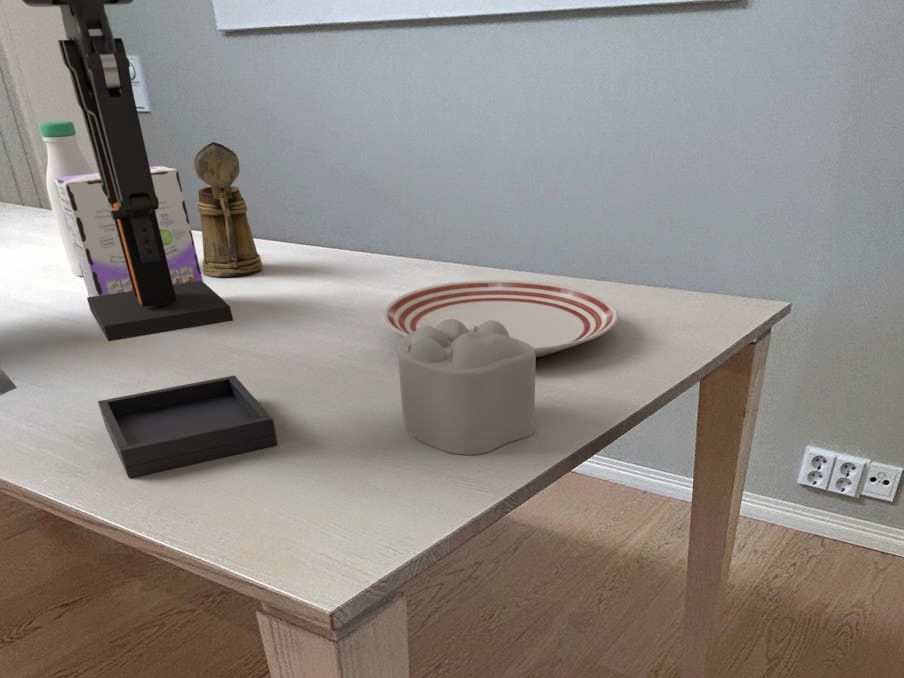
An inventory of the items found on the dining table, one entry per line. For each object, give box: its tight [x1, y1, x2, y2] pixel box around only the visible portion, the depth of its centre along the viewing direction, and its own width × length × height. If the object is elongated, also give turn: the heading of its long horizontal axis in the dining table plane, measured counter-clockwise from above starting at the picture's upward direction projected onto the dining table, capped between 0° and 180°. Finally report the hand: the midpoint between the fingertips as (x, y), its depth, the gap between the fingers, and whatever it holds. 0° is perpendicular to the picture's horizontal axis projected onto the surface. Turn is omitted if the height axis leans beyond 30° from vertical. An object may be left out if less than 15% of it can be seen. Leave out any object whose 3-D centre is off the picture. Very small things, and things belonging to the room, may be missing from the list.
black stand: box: [86, 202, 234, 342], centre depth 68 cm, size 10×10×9 cm
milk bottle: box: [38, 120, 95, 277], centre depth 123 cm, size 8×8×20 cm
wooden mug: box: [194, 141, 264, 278], centre depth 120 cm, size 9×14×18 cm, turn 19°
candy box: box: [54, 164, 204, 297], centre depth 105 cm, size 14×6×16 cm, turn 126°
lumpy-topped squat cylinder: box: [397, 319, 537, 456], centre depth 75 cm, size 10×13×9 cm
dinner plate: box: [382, 279, 619, 358], centre depth 97 cm, size 28×27×3 cm
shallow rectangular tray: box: [97, 375, 279, 479], centre depth 76 cm, size 13×13×2 cm
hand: (155, 297), depth 69 cm, fingers closed on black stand, 3 cm apart
